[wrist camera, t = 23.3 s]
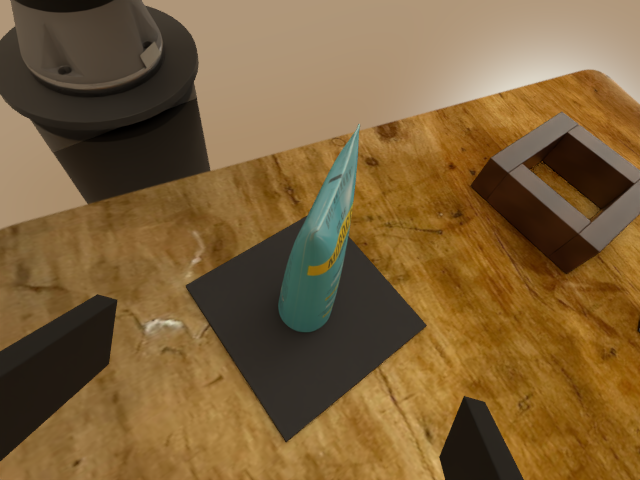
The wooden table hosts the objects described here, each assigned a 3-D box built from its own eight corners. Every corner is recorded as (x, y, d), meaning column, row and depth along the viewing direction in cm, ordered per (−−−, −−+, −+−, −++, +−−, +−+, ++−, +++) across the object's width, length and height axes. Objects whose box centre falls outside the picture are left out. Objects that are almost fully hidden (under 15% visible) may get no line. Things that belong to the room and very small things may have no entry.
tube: (321, 352, 34) (370, 244, 18) (267, 337, 35) (268, 217, 18) (338, 277, 38) (393, 131, 22) (290, 264, 38) (308, 110, 22)
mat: (186, 287, 37) (185, 285, 36) (322, 209, 43) (322, 206, 42) (286, 442, 31) (286, 441, 31) (424, 327, 37) (426, 325, 37)
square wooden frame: (470, 186, 47) (490, 157, 43) (537, 140, 52) (562, 111, 48) (566, 274, 42) (600, 252, 38) (629, 214, 48) (665, 189, 43)
